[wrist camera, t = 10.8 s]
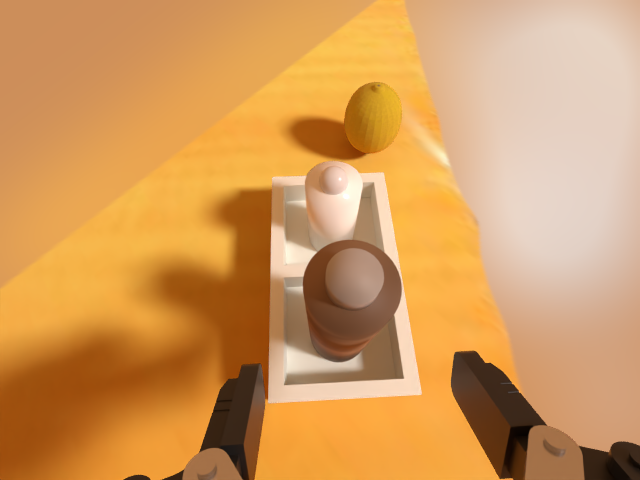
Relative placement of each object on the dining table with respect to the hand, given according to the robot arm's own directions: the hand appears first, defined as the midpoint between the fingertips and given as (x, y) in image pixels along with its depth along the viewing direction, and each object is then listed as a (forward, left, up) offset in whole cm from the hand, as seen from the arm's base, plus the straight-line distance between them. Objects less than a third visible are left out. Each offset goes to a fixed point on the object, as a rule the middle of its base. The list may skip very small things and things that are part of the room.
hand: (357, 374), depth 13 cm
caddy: (-6, +5, -13) cm, 15 cm away
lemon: (-14, +19, -13) cm, 27 cm away
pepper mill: (-3, +2, -11) cm, 12 cm away
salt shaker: (-9, +8, -11) cm, 17 cm away
